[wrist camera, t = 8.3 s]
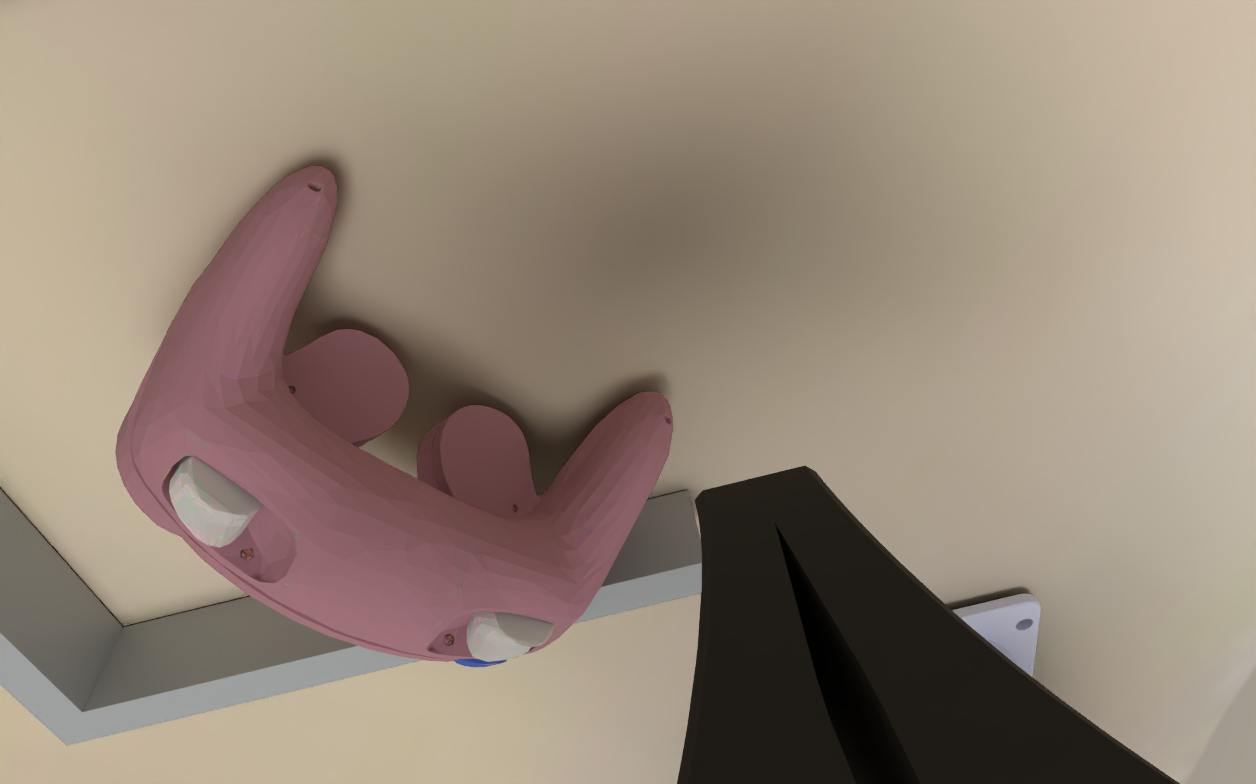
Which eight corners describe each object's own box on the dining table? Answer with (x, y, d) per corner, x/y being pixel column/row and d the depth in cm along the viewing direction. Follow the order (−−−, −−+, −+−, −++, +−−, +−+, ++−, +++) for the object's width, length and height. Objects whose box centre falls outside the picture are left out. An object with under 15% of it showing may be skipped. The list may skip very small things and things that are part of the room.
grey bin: (693, 517, 22) (712, 590, 19) (108, 659, 22) (66, 745, 20) (521, -234, 12) (524, -246, 10) (-483, 31, 13) (-672, 69, 11)
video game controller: (222, 243, 18) (24, 538, 14) (301, 121, 14) (73, 459, 10) (581, 455, 22) (510, 726, 18) (700, 397, 19) (647, 710, 15)
